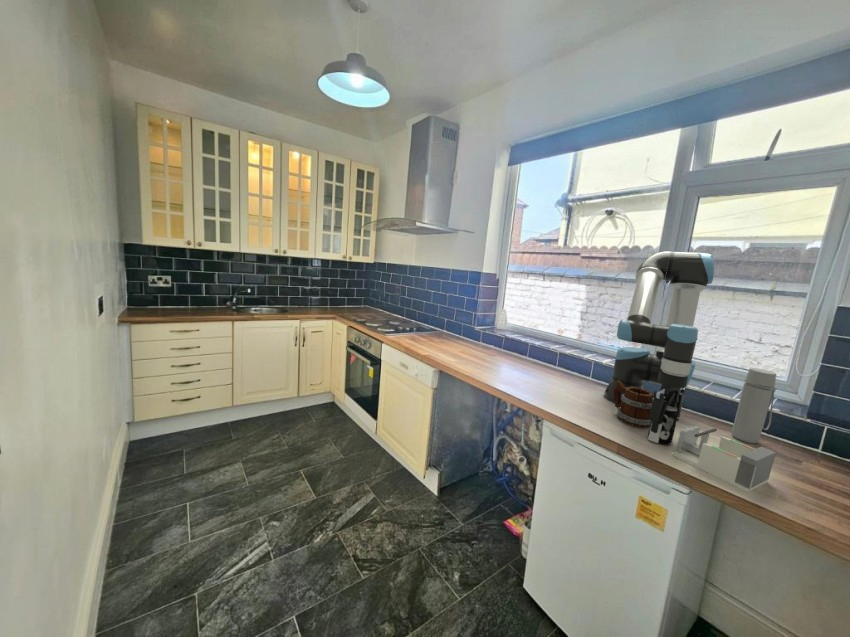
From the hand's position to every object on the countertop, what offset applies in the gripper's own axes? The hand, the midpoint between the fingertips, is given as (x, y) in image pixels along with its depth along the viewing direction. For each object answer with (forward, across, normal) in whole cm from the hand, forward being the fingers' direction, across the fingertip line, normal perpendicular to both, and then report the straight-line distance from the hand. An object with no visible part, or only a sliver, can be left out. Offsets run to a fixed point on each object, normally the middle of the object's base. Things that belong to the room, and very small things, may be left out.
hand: (659, 439), depth 112 cm
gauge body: (0, 0, +16) cm, 16 cm away
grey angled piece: (-1, 0, +11) cm, 11 cm away
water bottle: (+1, -34, +11) cm, 36 cm away
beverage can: (+1, 0, 0) cm, 1 cm away
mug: (+1, -6, -14) cm, 15 cm away
